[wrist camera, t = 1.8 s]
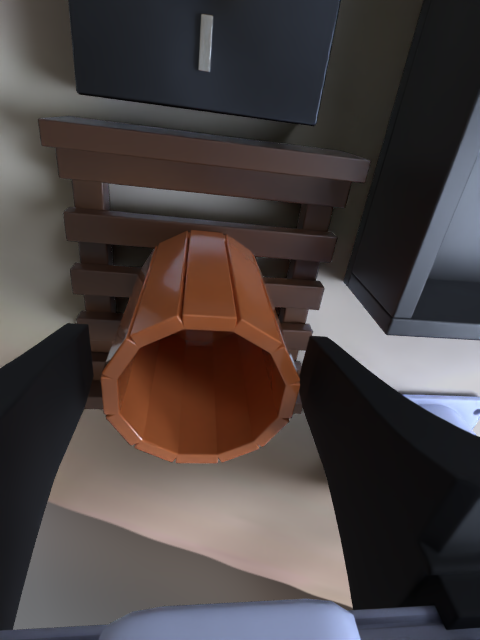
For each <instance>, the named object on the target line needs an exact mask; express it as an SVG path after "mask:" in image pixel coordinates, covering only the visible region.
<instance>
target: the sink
mask: <svg viewBox="0 0 480 640" xmlns="http://www.w3.org/2000/svg"><path fill="white" fill-rule="evenodd" d="M344 283H345V284H346V286H348V288H349V289H350V290H351V291H352V293H353V294H354V295H355V296H356V298H357V299H358V300H359V301H360V303H361V304H362V305H363V306H364V308H365V309H366V310H367V311H368V313H369V314H370V315H371V316H372V318H373V319H374V320H375V321H376V323H377V324H378V325H379V326H380V328H381V329H382V330H383V331H384V333H385V334H386V335H396V336H414V337H432V338H450V339H468V340H480V0H424V2H423V5H422V9H421V12H420V16H419V19H418V23H417V26H416V30H415V33H414V37H413V40H412V44H411V47H410V51H409V54H408V58H407V61H406V65H405V68H404V72H403V75H402V79H401V82H400V86H399V89H398V93H397V96H396V100H395V103H394V107H393V110H392V114H391V117H390V121H389V124H388V128H387V131H386V135H385V138H384V142H383V145H382V149H381V152H380V156H379V159H378V163H377V166H376V170H375V173H374V177H373V180H372V184H371V187H370V191H369V194H368V198H367V201H366V205H365V208H364V211H363V215H362V218H361V222H360V225H359V229H358V232H357V236H356V239H355V243H354V246H353V250H352V253H351V257H350V260H349V264H348V267H347V271H346V274H345V278H344Z"/></svg>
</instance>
